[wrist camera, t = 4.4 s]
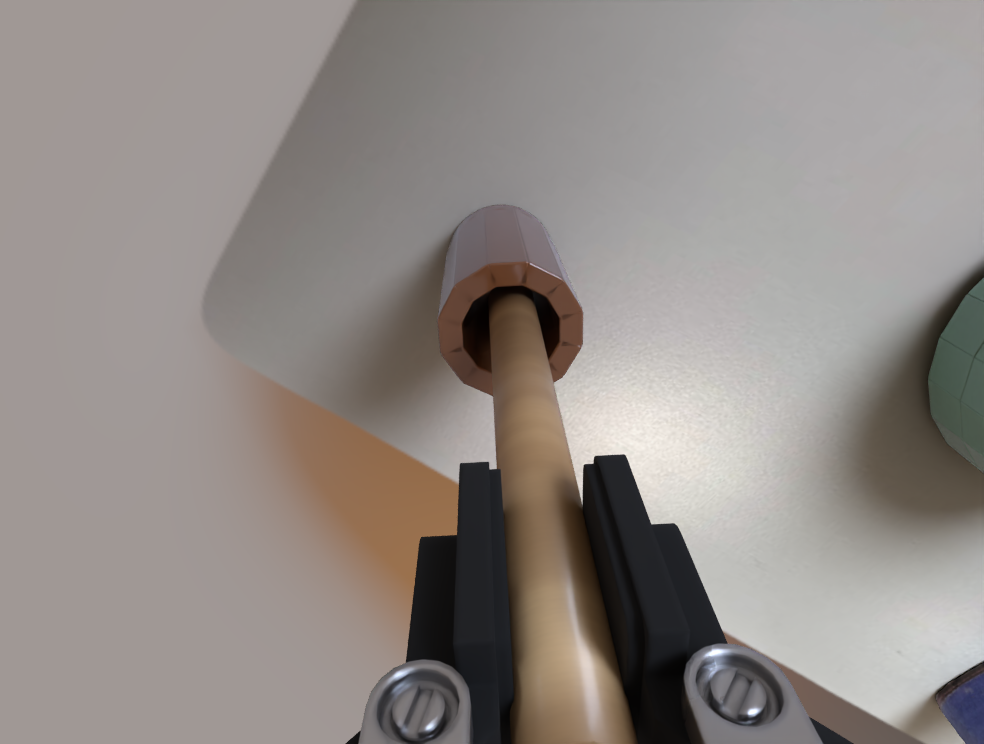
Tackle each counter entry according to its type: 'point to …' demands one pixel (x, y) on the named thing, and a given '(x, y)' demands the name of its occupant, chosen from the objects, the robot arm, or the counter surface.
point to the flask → (965, 705)
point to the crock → (500, 263)
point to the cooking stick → (548, 551)
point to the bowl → (961, 379)
